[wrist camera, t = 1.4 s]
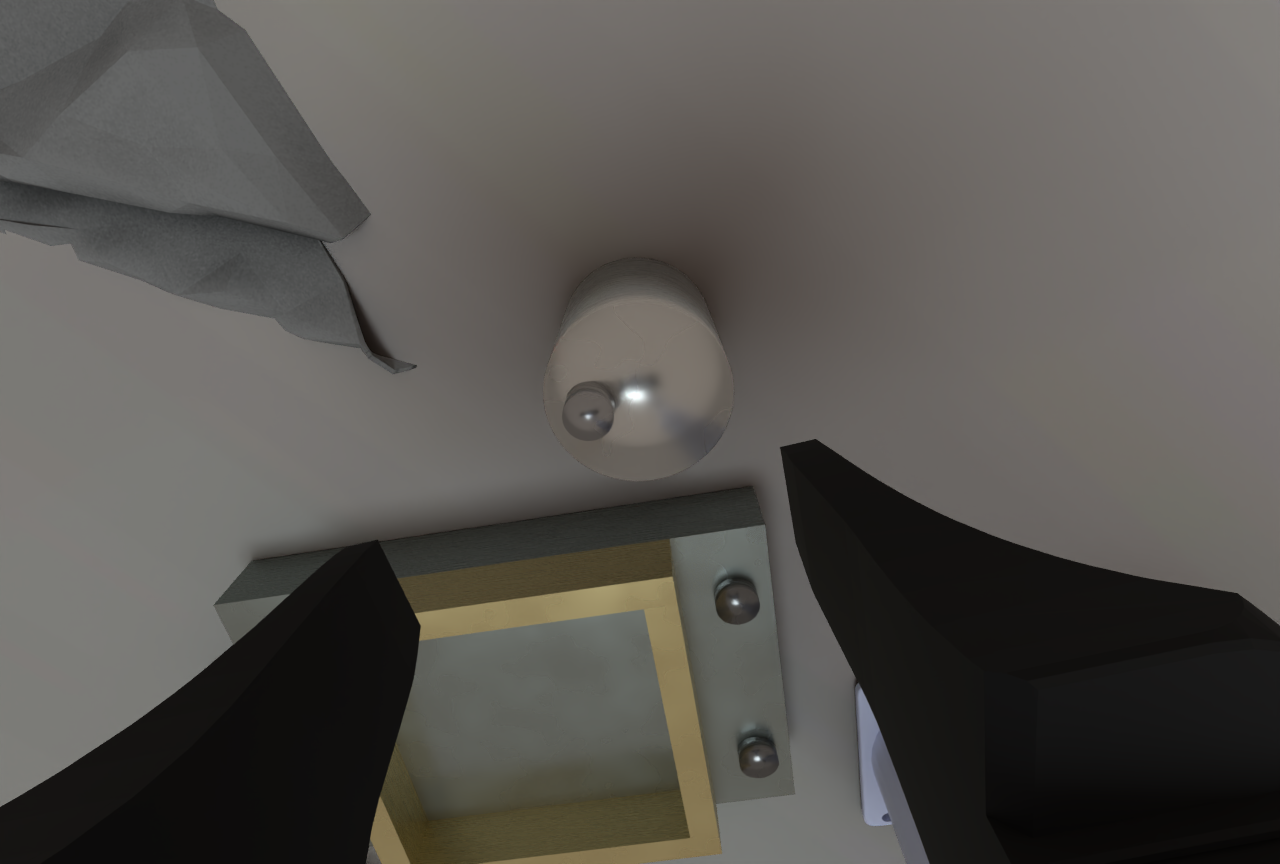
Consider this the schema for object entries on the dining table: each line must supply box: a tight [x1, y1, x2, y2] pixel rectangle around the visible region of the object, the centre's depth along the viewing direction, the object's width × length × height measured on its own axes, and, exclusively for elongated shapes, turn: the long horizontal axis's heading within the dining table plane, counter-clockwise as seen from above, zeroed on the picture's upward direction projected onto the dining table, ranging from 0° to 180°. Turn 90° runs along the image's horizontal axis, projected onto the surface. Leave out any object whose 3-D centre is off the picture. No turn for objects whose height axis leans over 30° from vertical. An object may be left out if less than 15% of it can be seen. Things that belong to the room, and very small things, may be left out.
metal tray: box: [214, 486, 795, 864], centre depth 25 cm, size 21×12×4 cm, turn 99°
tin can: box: [543, 258, 734, 481], centre depth 19 cm, size 5×5×6 cm
